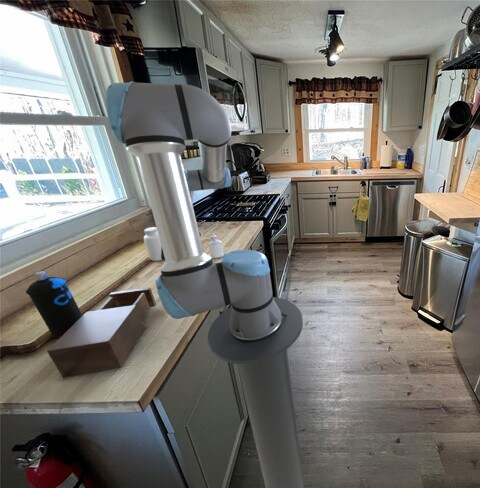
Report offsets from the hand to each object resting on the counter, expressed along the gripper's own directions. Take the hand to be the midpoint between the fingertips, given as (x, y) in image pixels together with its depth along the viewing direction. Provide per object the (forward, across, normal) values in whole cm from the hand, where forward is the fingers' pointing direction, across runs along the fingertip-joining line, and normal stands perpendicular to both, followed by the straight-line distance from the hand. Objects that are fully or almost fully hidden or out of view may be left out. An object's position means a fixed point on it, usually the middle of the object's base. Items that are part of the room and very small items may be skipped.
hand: (179, 277), depth 91 cm
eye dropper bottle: (-17, -6, -29) cm, 34 cm away
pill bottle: (-22, +22, -34) cm, 46 cm away
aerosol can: (+13, +31, +1) cm, 33 cm away
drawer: (+11, +14, +1) cm, 18 cm away
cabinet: (+22, +14, +10) cm, 28 cm away
